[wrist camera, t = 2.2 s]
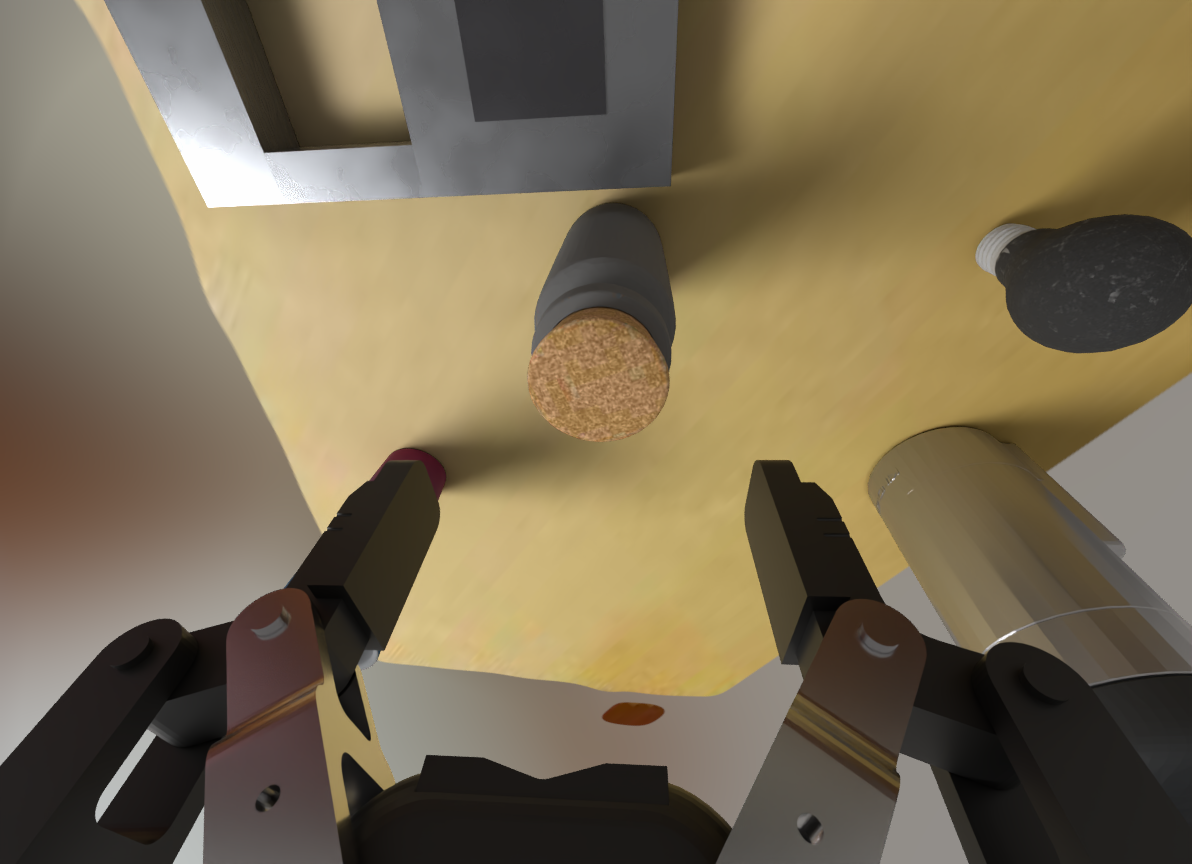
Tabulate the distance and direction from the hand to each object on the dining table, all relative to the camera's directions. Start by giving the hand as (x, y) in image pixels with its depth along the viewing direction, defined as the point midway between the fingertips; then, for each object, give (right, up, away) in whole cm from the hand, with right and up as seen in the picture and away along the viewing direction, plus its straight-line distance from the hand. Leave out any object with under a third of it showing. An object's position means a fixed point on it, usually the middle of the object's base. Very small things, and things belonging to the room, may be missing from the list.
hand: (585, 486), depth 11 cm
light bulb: (+22, +12, +14) cm, 29 cm away
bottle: (+1, +12, +16) cm, 20 cm away
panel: (-8, +20, +11) cm, 24 cm away
